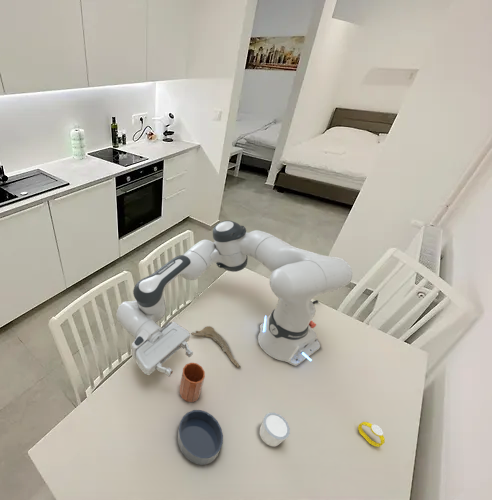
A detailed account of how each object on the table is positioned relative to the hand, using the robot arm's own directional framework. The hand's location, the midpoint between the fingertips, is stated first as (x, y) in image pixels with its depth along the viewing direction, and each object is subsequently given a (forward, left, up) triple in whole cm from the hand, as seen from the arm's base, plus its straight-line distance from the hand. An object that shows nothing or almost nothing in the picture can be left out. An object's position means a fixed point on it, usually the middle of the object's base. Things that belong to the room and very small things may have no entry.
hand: (181, 364), depth 88 cm
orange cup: (-2, +4, -11) cm, 12 cm away
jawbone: (-18, -7, -11) cm, 22 cm away
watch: (-44, +33, -11) cm, 56 cm away
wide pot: (+2, +17, -11) cm, 20 cm away
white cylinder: (-18, +23, -11) cm, 31 cm away
